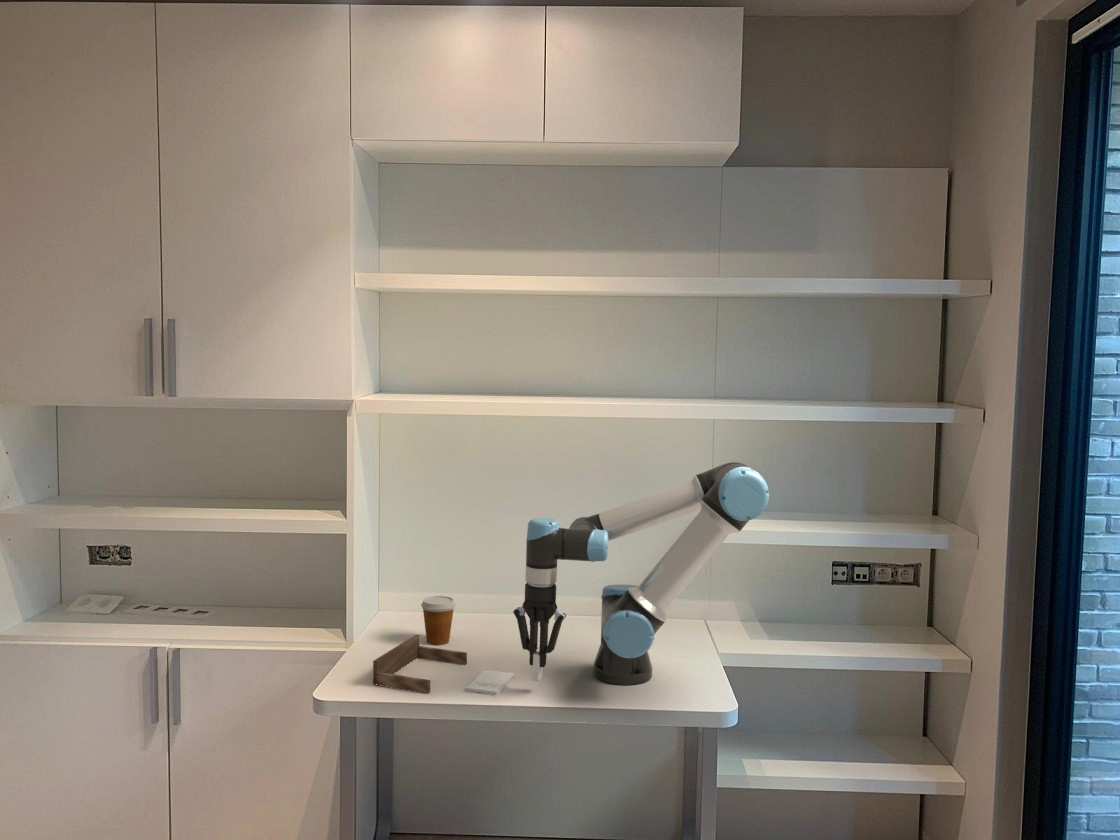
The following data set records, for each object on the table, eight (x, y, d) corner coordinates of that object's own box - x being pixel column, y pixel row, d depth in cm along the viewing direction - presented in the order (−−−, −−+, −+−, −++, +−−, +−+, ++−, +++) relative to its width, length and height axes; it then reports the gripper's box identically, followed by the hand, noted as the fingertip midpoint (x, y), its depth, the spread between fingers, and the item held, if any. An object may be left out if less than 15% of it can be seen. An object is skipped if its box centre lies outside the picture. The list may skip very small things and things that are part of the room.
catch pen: (467, 663, 227) (467, 641, 227) (428, 693, 206) (428, 669, 206) (416, 656, 232) (416, 634, 232) (373, 684, 211) (373, 660, 211)
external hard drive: (513, 679, 218) (496, 697, 206) (482, 675, 221) (464, 693, 209) (513, 673, 218) (496, 691, 206) (482, 669, 220) (464, 686, 209)
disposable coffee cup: (422, 648, 238) (423, 605, 238) (419, 637, 248) (419, 596, 247) (457, 646, 241) (457, 603, 240) (452, 635, 250) (452, 594, 249)
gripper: (571, 582, 209) (567, 678, 211) (521, 576, 213) (517, 669, 215) (561, 590, 202) (557, 688, 203) (509, 583, 206) (506, 680, 208)
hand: (537, 679), depth 209 cm, fingers closed
